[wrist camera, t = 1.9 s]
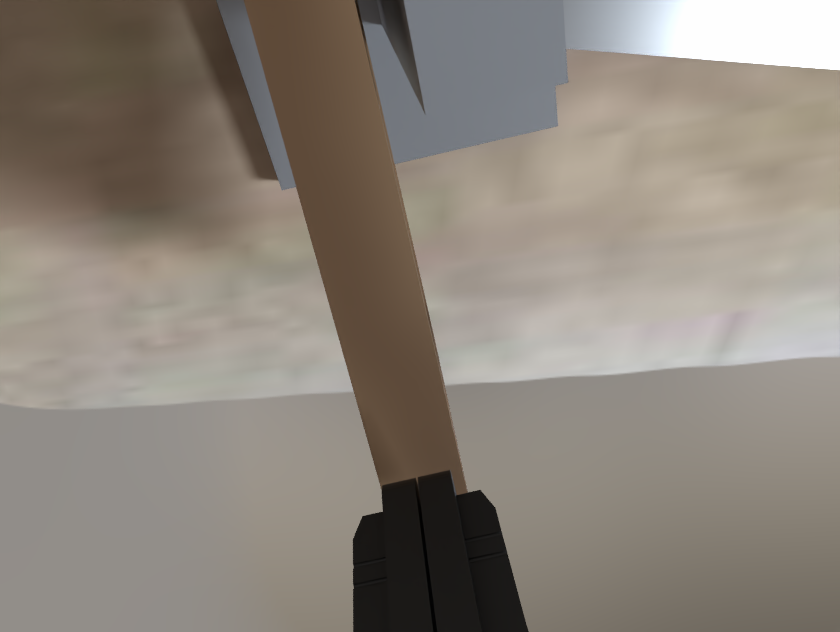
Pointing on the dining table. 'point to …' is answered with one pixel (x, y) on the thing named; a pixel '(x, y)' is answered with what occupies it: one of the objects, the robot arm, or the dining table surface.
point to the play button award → (710, 29)
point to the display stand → (437, 72)
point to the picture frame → (358, 229)
